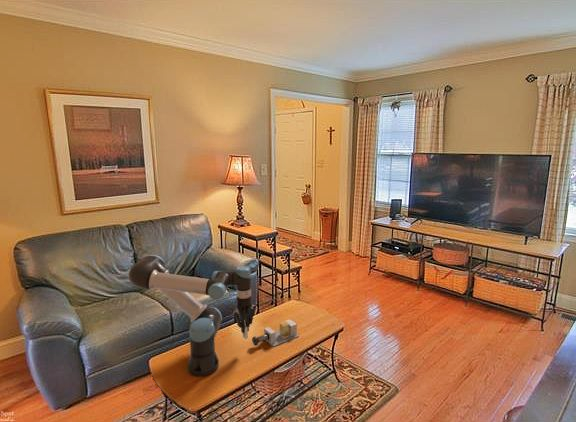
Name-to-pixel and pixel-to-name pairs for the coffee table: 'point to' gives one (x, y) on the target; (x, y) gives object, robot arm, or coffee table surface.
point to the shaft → (260, 339)
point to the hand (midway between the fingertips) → (245, 337)
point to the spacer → (284, 329)
